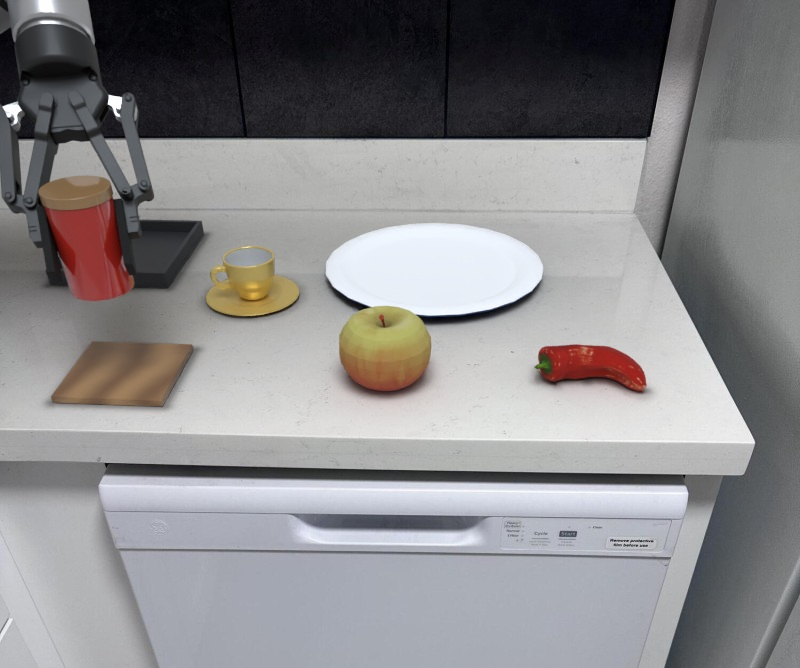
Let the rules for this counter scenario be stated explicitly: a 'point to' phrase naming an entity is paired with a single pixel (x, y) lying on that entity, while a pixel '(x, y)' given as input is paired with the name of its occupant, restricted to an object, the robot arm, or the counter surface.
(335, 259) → the plate
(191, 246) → the tray
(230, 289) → the cup
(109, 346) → the board
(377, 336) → the apple
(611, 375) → the vegetable
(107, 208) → the spice jar
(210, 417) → the counter surface
